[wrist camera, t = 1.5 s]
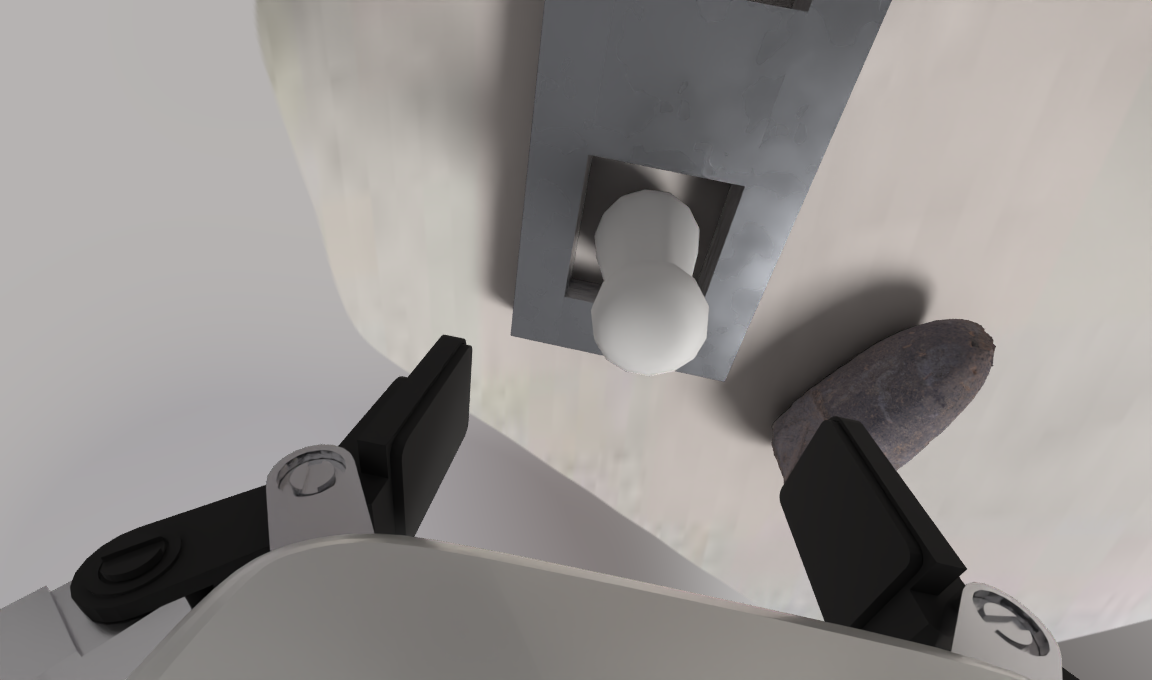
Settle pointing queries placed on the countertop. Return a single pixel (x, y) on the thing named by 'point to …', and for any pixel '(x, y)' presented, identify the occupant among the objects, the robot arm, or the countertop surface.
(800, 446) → the perforated stone tool
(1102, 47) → the countertop surface
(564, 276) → the socket panel
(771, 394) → the countertop surface
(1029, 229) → the countertop surface
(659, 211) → the salt shaker
